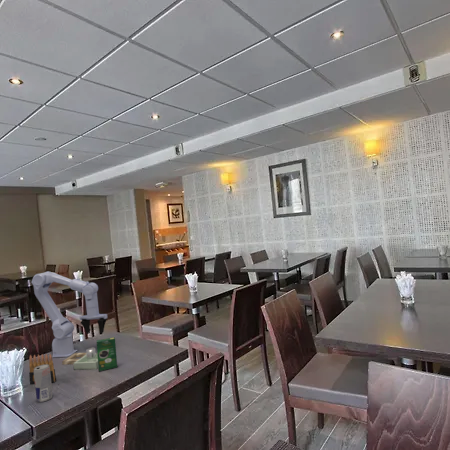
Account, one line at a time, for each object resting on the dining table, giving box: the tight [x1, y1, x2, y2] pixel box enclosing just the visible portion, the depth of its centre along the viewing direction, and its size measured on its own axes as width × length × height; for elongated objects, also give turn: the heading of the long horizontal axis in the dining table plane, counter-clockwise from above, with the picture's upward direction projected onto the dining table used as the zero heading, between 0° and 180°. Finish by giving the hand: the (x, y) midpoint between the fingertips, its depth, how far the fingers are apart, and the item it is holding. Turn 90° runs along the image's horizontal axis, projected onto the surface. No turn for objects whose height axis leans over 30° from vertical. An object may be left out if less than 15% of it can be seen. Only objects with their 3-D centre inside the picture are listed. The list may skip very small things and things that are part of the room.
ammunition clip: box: [28, 353, 57, 386], centre depth 141 cm, size 11×2×12 cm, turn 84°
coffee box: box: [96, 336, 118, 372], centre depth 148 cm, size 8×3×13 cm, turn 110°
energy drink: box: [34, 364, 54, 403], centre depth 126 cm, size 5×5×12 cm
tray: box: [72, 353, 99, 371], centre depth 155 cm, size 11×11×3 cm
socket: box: [61, 352, 86, 365], centre depth 163 cm, size 10×10×2 cm
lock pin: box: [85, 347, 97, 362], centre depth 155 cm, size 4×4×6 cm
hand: (95, 333), depth 172 cm, fingers open, 7 cm apart
